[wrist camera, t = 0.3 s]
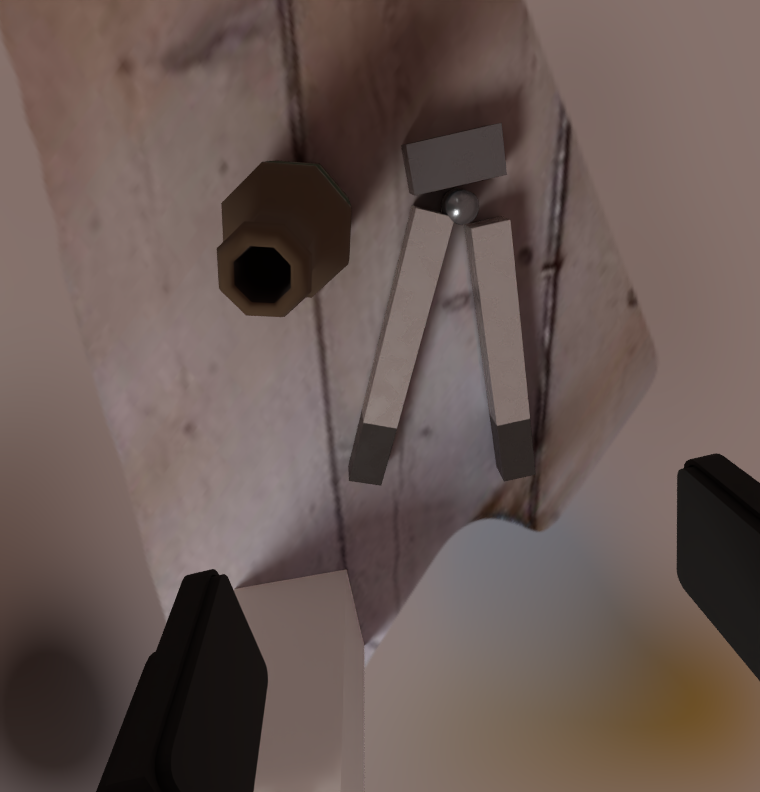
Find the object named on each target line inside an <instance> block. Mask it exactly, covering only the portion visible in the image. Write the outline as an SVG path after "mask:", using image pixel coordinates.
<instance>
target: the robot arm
mask: <svg viewBox="0 0 760 792" xmlns="http://www.w3.org/2000/svg"><path fill="white" fill-rule="evenodd" d="M677 575H678V578H679V581H680V583H681V585H682V587H683V588H684V590H685V591H686V592H687V593H688V595H689V596H690V597H691V598H692V599H693V600H694V602H695V603H696V604H697V605H698V607H699V608H700V609H701V610H702V611H703V613H704V614H705V615H706V616H707V618H708V619H709V620H710V621H711V622H712V624H713V625H714V626H715V627H716V628H717V630H718V631H719V632H720V633H721V634H722V636H723V637H724V638H725V639H726V641H727V642H728V643H729V644H730V645H731V647H732V648H733V649H734V650H735V651H736V653H737V654H738V655H739V656H740V657H741V659H742V660H743V661H744V662H745V663H746V665H747V666H748V667H749V668H750V670H751V671H752V672H753V673H754V674H755V676H756V677H757V678H758V679H759V681H760V483H759V482H757V481H756V480H755V479H753V478H752V477H751V476H750V475H748V474H747V473H746V472H744V471H743V470H741V469H740V468H739V467H737V466H736V465H735V464H733V463H732V462H731V461H729V460H728V459H727V458H725V457H724V456H722V455H720V454H711V455H707V456H703V457H698V458H694V459H690V460H688V461H686V463H685V464H684V468H683V469H680V470H679V471H678V475H677ZM267 687H268V672H267V666H266V663H265V661H264V659H263V656H262V654H261V652H260V650H259V647H258V645H257V643H256V640H255V638H254V636H253V634H252V631H251V629H250V627H249V624H248V622H247V620H246V618H245V615H244V613H243V611H242V608H241V606H240V604H239V602H238V599H237V597H236V595H235V592H234V590H233V588H232V586H231V583H230V581H229V579H228V577H227V576H226V575H225V574H222V575H219V574H218V572H217V571H216V570H214V569H212V570H207V571H203V572H198V573H194V574H190V575H187V576H185V577H184V579H183V581H182V583H181V586H180V588H179V591H178V594H177V596H176V599H175V602H174V604H173V607H172V610H171V612H170V615H169V618H168V620H167V623H166V626H165V628H164V631H163V634H162V637H161V639H160V642H159V644H158V647H157V650H156V652H154V653H153V654H152V655H151V656H149V658H148V660H147V662H146V664H145V667H144V669H143V672H142V674H141V677H140V680H139V682H138V685H137V687H136V690H135V692H134V695H133V698H132V700H131V703H130V706H129V708H128V710H127V713H126V716H125V718H124V721H123V724H122V726H121V729H120V731H119V734H118V736H117V739H116V742H115V744H114V747H113V749H112V752H111V755H110V757H109V760H108V762H107V765H106V767H105V770H104V773H103V775H102V778H101V780H100V783H99V786H98V788H97V791H96V792H254V784H255V777H256V769H257V762H258V754H259V747H260V739H261V732H262V724H263V717H264V709H265V702H266V694H267Z"/></svg>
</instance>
